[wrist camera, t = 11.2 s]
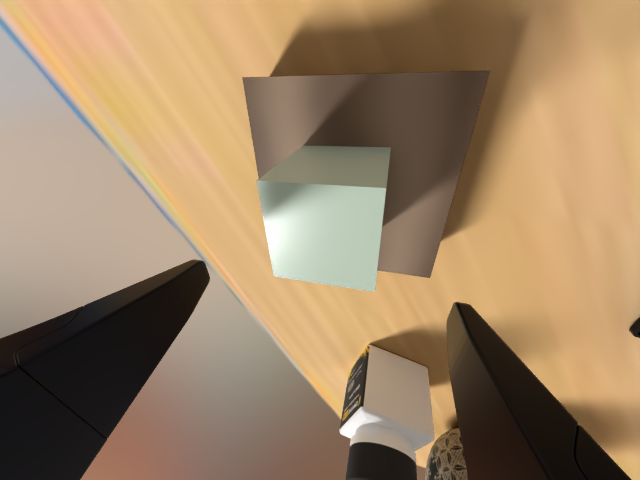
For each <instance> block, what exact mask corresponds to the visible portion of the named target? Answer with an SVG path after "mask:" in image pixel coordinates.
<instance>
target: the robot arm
mask: <svg viewBox="0 0 640 480" xmlns="http://www.w3.org/2000/svg"><path fill="white" fill-rule="evenodd" d="M209 280H210V277H209V273H208V270H207V267H206V264H205V263H204V262H203V261H201V260H191V261H188V262H186V263H183V264H181V265H179V266H176V267H174V268H172V269H169V270H167V271H165V272H162V273H160V274H157V275H155V276H153V277H150V278H148V279H146V280H144V281H141V282H138V283H136V284H134V285H131V286H129V287H127V288H124V289H122V290H120V291H118V292H115V293H112V294H110V295H108V296H105V297H103V298H101V299H99V300H96V301H94V302H91V303H89V304H87V305H85V306H84V307H83V306H82V307H79V308H77V309H75V310H72V311H70V312H67V313H65V314H63V315H60V316H58V317H55V318H53V319H50V320H48V321H45V322H43V323H40V324H38V325H35V326H32V327H30V328H27V329H25V330H22V331H19V332H17V333H14V334H11V335H9V336H6V337H3V338H1V339H0V480H80V479H81V478H82V476H83V475H84V473H85V472H86V470H87V469H88V467H89V466H90V464H91V463H92V461H93V460H94V458H95V457H96V455H97V454H98V453H99V451H100V450H101V448H102V446H103V445H104V443H105V442H106V441H107V438H108V437H109V436H110V434H111V433H112V431H113V430H114V428H115V427H116V426H117V424H118V423H119V421H120V420H121V418H122V416H123V415H124V414H125V412H126V411H127V409H128V408H129V406H130V405H131V403H132V402H133V400H134V399H135V397H136V396H137V394H138V393H139V392H140V390H141V389H142V387H143V386H144V384H145V383H146V381H147V380H148V378H149V377H150V375H151V374H152V372H153V371H154V369H155V368H156V366H157V365H158V364H159V362H160V361H161V359H162V358H163V356H164V355H165V353H166V352H167V350H168V349H169V347H170V346H171V344H172V343H173V341H174V340H175V338H176V337H177V335H178V334H179V333H180V331H181V330H182V328H183V326H184V325H185V323H186V322H187V321H188V319H189V317H190V316H191V314H192V312H193V311H194V309H195V307H196V305H197V303H198V302H199V300H200V298H201V296H202V294H203V292H204V290H205V289H206V287H207V285H208V283H209ZM629 331H630V332H631V333H632V334H633V335H634V336H635V337H638V338H640V318H639V319H638V320H637V321H636V322H635V323H634V324H633V325H632V326H631V327H630V329H629ZM447 342H448V358H449V373H450V380H451V386H452V391H453V397H454V402H455V408H456V413H457V419H458V424H459V430H460V436H461V441H462V447H463V452H464V458H465V463H466V469H467V474H468V480H631V479H630V478H629V477H628V476H627V474H626V473H625V472H624V471H623V470H622V469H621V468H620V467H619V466H618V465H617V464H616V463H615V462H614V461H613V460H612V459H611V458H610V456H609V455H608V454H607V453H606V452H605V451H604V450H603V449H602V448H601V447H600V446H599V445H598V444H597V443H596V442H595V440H594V439H593V438H592V437H591V436H590V435H589V434H588V433H587V432H586V431H585V430H584V428H583V427H582V426H580V425H577V424H578V423H577V421H576V420H575V419H574V418H573V417H572V415H571V414H570V413H569V412H568V411H567V410H566V409H565V408H564V407H563V406H562V405H561V403H560V402H559V401H558V400H557V399H556V398H555V397H554V396H553V395H552V394H551V393H550V391H549V390H548V389H547V388H546V387H545V386H544V385H543V384H542V383H541V382H540V380H539V379H538V378H537V377H536V376H535V375H534V374H533V373H532V372H531V371H530V370H529V368H528V367H527V366H526V365H525V364H524V363H523V362H522V361H521V360H520V359H519V358H518V356H517V355H516V354H515V353H514V352H513V351H512V350H511V349H510V348H509V347H508V346H507V344H506V343H505V342H504V341H503V340H502V339H501V338H500V337H499V336H498V335H497V333H496V332H495V331H494V330H493V329H492V328H491V327H490V326H489V325H488V324H487V323H486V321H485V320H484V319H483V318H482V317H481V316H480V315H479V314H478V313H477V312H476V311H475V309H474V308H473V307H472V306H471V305H469V304H466V303H460V302H455V303H454V304H453V306H452V309H451V311H450V314H449V316H448V319H447Z"/></svg>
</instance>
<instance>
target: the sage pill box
mask: <svg viewBox="0 0 640 480" xmlns="http://www.w3.org/2000/svg"><path fill="white" fill-rule="evenodd" d="M390 151H391V147H350V146H302V147H301V148H299V149H298V150H297V151H295V152H294V153H293V154H291V155H290V156H289V157H287V158H286V159H285V160H283V161H282V162H281V163H279V164H278V165H277V166H275V167H274V168H273V169H271V170H270V171H269V172H267V173H266V174H265V175H263V176H262V177H261V178H259V179H258V180H257V186H258V192H259V197H260V203H261V208H262V214H263V219H264V225H265V230H266V236H267V241H268V247H269V252H270V258H271V263H272V269H273V274H274V277H281V278H287V279H294V280H300V281H307V282H313V283H320V284H326V285H333V286H339V287H346V288H352V289H359V290H365V291H372V292H375V285H376V276H377V267H378V258H379V249H380V240H381V231H382V222H383V213H384V205H385V196H386V187H387V178H388V169H389V160H390Z"/></svg>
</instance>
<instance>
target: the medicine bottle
mask: <svg viewBox="0 0 640 480" xmlns="http://www.w3.org/2000/svg"><path fill="white" fill-rule="evenodd" d="M340 433H341V434H342V435H344V436H346V437H348V438H351V443H350V450H349V459H348V466H347V473H346V480H417V473H416V454H415V452H414V451H416V450H418V449H419V448H421V447H423V446H425V445H427V444H428V443H430V442H432V441H433V440H434V428H433V417H432V407H431V397H430V387H429V377H428V369H427V367H425V366H423V365H421V364H418V363H416V362H413V361H411V360H408V359H406V358H403V357H400V356H398V355H395V354H393V353H390V352H388V351H385V350H383V349H380V348H378V347H375V346H373V345H368V346H367V347H366V349H365V350H364V352H363V353H362V355H361V356H360V357H359V359H358V360H357V362H356V363H355V364H354V366H353V367H352V369H351V370H350V372H349V376H348V382H347V388H346V395H345V401H344V407H343V413H342V419H341V425H340Z"/></svg>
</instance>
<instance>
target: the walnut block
mask: <svg viewBox="0 0 640 480" xmlns="http://www.w3.org/2000/svg"><path fill="white" fill-rule="evenodd" d="M489 73H490V71H456V72H420V73H384V74H348V75H311V76H275V77H242V78H243V84H244V90H245V96H246V102H247V109H248V115H249V121H250V127H251V133H252V139H253V145H254V152H255V158H256V164H257V170H258V176H259V178H261V177H262V176H263V175H265V174H266V173H267V172H269V171H270V170H271V169H273V168H274V167H275V166H277V165H278V164H279V163H281V162H282V161H283V160H285V159H286V158H287V157H289V156H290V155H291V154H293V153H294V152H295V151H297V150H298V149H299V148H301V147H302V146H350V147H391V151H390V160H389V169H388V178H387V187H386V196H385V205H384V213H383V222H382V231H381V240H380V249H379V258H378V267H377V270H379V271H386V272H392V273H399V274H406V275H413V276H420V277H427V278H430V276H431V272H432V269H433V266H434V262H435V259H436V255H437V252H438V248H439V245H440V241H441V238H442V235H443V231H444V228H445V224H446V221H447V217H448V214H449V210H450V207H451V204H452V200H453V197H454V193H455V190H456V186H457V183H458V179H459V176H460V173H461V169H462V166H463V162H464V159H465V155H466V152H467V148H468V145H469V141H470V138H471V135H472V131H473V128H474V124H475V121H476V117H477V114H478V110H479V107H480V104H481V100H482V97H483V93H484V90H485V86H486V83H487V79H488V76H489Z"/></svg>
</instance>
